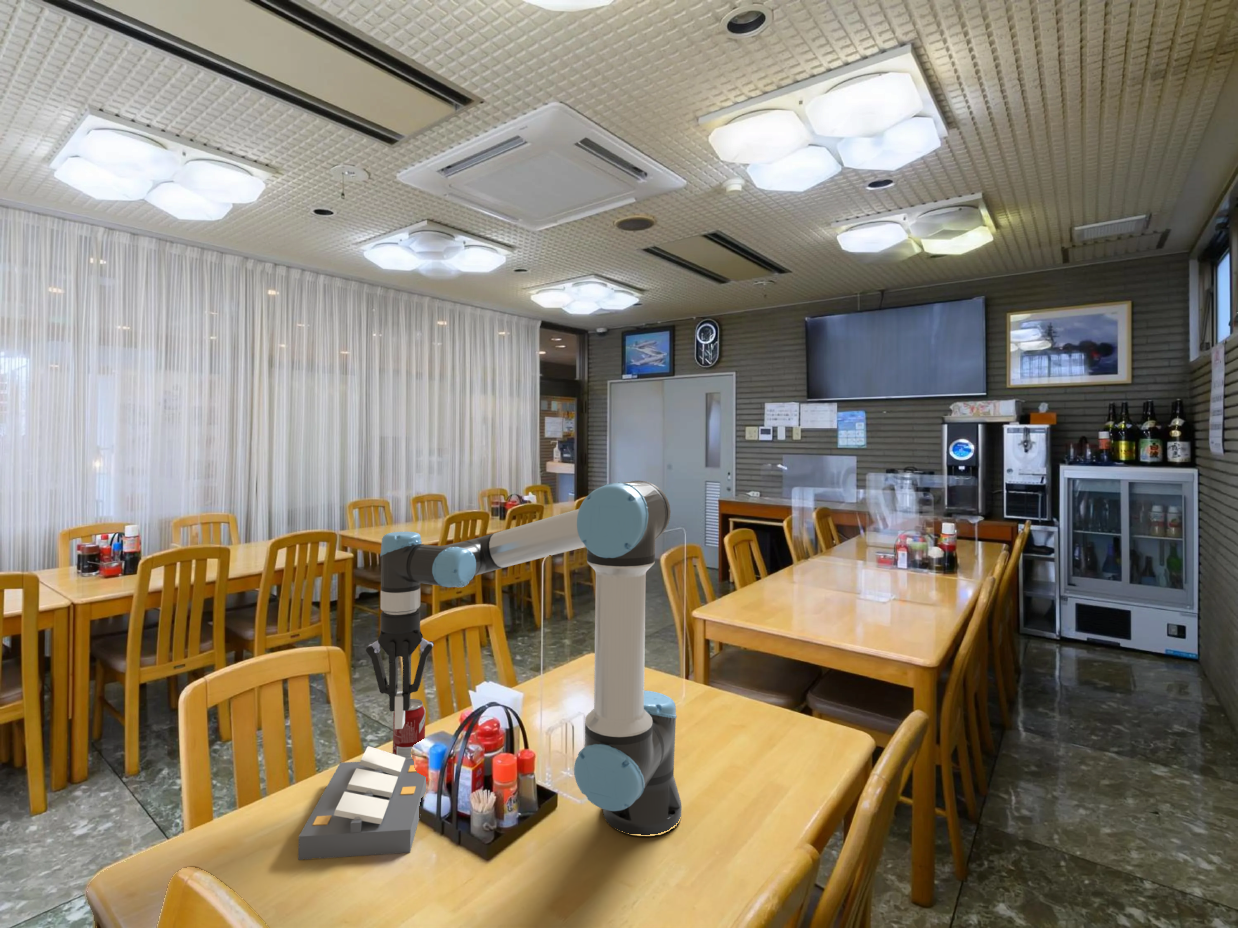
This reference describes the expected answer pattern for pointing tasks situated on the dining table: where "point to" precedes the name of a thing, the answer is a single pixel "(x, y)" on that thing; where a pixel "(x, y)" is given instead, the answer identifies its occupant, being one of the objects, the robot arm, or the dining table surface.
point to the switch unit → (360, 837)
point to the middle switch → (372, 783)
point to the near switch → (362, 808)
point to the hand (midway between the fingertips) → (399, 725)
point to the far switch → (382, 761)
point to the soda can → (409, 729)
